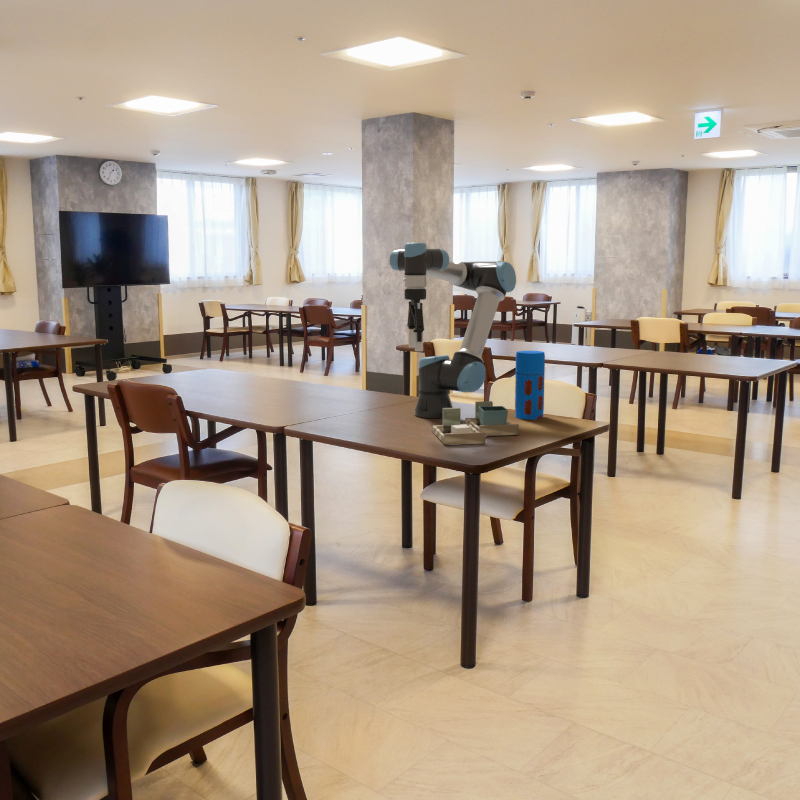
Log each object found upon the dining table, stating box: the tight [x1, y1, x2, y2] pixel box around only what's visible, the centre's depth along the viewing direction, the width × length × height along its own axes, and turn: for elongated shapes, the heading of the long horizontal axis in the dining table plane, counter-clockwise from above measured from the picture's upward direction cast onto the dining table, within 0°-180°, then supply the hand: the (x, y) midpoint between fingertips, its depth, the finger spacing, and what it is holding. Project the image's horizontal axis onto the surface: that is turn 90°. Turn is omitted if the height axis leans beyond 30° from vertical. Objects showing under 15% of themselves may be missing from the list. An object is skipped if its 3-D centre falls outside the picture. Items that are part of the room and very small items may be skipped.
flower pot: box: [479, 405, 509, 425], centre depth 288 cm, size 9×9×9 cm
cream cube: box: [450, 425, 471, 433], centre depth 277 cm, size 5×5×5 cm
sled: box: [431, 407, 487, 446], centre depth 281 cm, size 23×14×8 cm, turn 8°
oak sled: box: [464, 400, 520, 437], centre depth 294 cm, size 23×14×8 cm, turn 8°
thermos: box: [514, 350, 546, 421], centre depth 317 cm, size 11×11×25 cm
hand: (415, 349), depth 291 cm, fingers open, 13 cm apart
